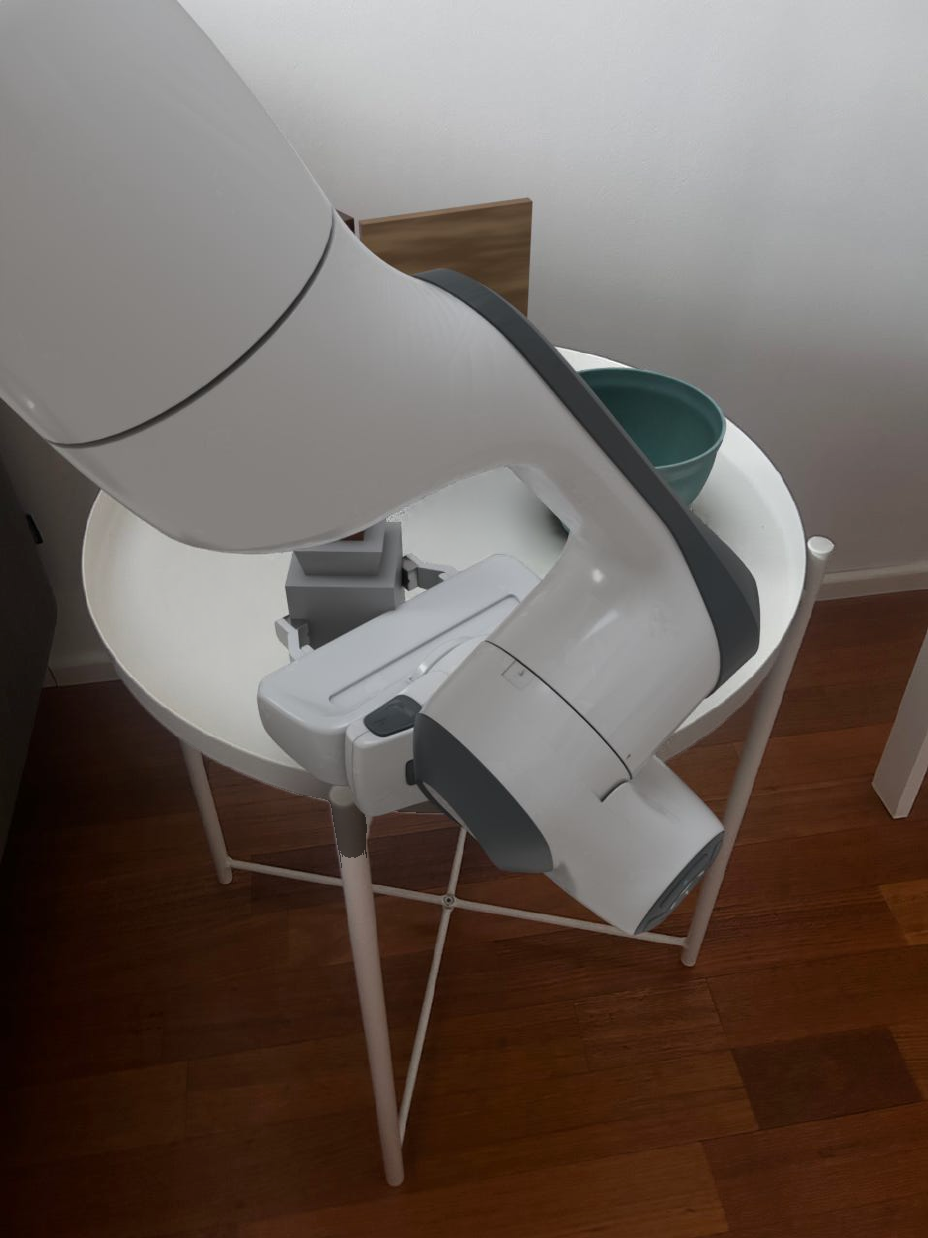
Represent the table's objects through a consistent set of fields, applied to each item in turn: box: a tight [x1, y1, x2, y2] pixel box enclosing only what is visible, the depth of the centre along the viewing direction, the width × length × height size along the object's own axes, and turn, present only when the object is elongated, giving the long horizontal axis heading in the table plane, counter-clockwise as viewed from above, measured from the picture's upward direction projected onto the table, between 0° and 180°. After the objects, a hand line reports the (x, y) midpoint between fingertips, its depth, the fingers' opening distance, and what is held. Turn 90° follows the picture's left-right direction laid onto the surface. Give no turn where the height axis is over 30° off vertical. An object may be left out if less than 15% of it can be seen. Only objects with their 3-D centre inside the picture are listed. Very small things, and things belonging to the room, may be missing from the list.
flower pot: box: [559, 366, 727, 534], centre depth 86 cm, size 16×16×11 cm
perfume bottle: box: [284, 518, 406, 650], centre depth 68 cm, size 7×7×18 cm
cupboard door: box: [357, 197, 534, 319], centre depth 93 cm, size 6×15×23 cm, turn 110°
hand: (344, 593), depth 67 cm, fingers open, 8 cm apart
